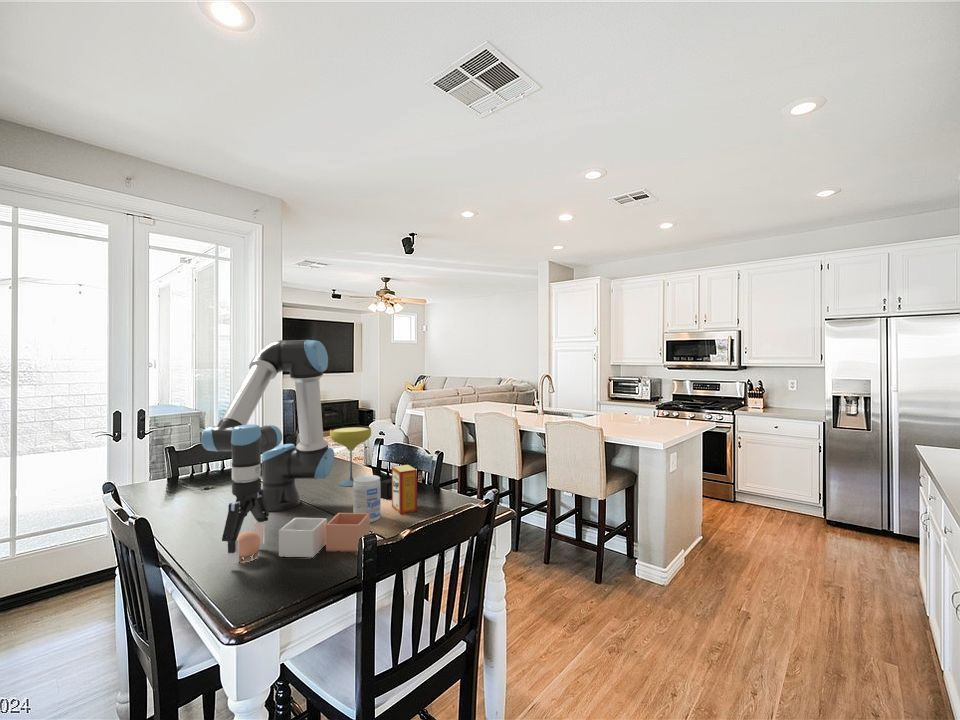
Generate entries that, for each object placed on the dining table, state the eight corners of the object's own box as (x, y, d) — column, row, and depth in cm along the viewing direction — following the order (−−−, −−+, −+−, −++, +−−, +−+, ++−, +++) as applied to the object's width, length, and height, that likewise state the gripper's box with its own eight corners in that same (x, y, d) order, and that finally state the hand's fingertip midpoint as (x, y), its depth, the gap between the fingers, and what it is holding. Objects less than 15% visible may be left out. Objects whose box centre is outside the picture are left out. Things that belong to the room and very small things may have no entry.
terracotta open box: (326, 551, 138) (325, 524, 137) (338, 537, 148) (338, 512, 148) (359, 552, 137) (359, 525, 137) (369, 538, 147) (369, 513, 147)
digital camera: (389, 500, 185) (389, 483, 185) (380, 498, 188) (380, 481, 188) (408, 494, 193) (408, 478, 193) (399, 492, 196) (399, 475, 196)
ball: (228, 561, 130) (228, 536, 129) (242, 550, 137) (242, 527, 136) (252, 561, 129) (252, 537, 129) (265, 551, 136) (265, 527, 136)
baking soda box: (392, 507, 177) (391, 465, 177) (408, 504, 180) (407, 463, 180) (400, 514, 169) (400, 471, 169) (417, 511, 172) (416, 468, 172)
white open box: (278, 557, 133) (278, 530, 133) (295, 543, 143) (294, 517, 143) (313, 558, 133) (312, 531, 133) (327, 543, 143) (326, 518, 143)
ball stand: (230, 563, 130) (230, 558, 130) (243, 553, 136) (243, 548, 136) (252, 563, 129) (251, 559, 129) (264, 553, 136) (263, 549, 136)
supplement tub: (371, 525, 158) (371, 482, 158) (347, 522, 161) (347, 480, 161) (385, 515, 168) (385, 475, 167) (362, 513, 170) (362, 473, 170)
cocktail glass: (341, 477, 220) (340, 425, 219) (377, 478, 217) (377, 425, 217) (323, 488, 202) (322, 431, 201) (362, 489, 199) (362, 432, 199)
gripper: (233, 492, 120) (234, 573, 120) (280, 468, 145) (280, 536, 145) (206, 491, 120) (207, 572, 121) (257, 468, 145) (257, 535, 145)
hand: (247, 553), depth 133 cm, fingers open, 12 cm apart
